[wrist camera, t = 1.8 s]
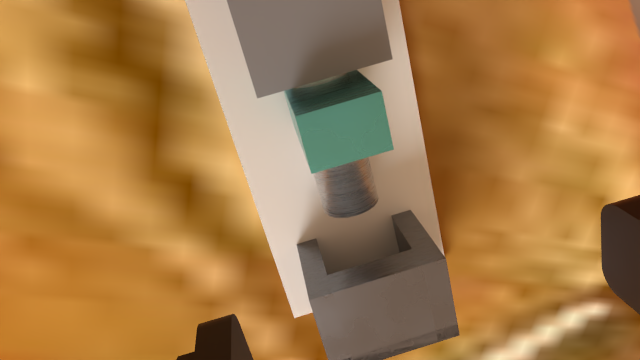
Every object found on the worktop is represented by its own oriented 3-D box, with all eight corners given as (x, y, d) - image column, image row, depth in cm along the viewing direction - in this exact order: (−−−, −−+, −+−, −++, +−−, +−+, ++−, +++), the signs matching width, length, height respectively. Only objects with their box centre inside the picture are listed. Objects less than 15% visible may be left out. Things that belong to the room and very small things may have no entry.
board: (166, -61, 24) (148, -68, 19) (371, -118, 24) (408, -139, 19) (292, 308, 33) (303, 371, 28) (441, 262, 33) (478, 316, 28)
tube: (237, -70, 23) (238, -82, 17) (312, -90, 23) (340, -110, 17) (315, 200, 29) (337, 264, 23) (375, 182, 29) (412, 241, 23)
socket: (296, 244, 30) (309, 300, 25) (410, 209, 30) (445, 258, 25) (317, 310, 32) (333, 375, 27) (424, 277, 32) (459, 335, 27)
